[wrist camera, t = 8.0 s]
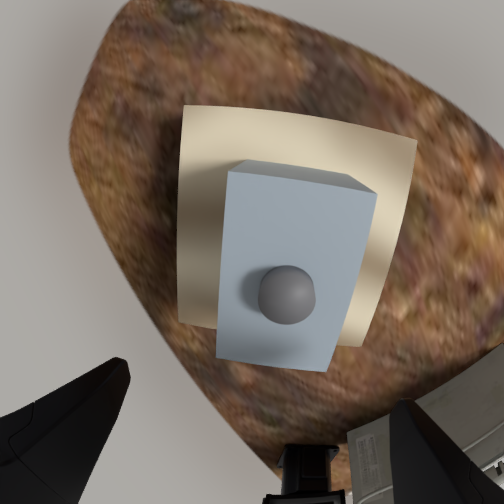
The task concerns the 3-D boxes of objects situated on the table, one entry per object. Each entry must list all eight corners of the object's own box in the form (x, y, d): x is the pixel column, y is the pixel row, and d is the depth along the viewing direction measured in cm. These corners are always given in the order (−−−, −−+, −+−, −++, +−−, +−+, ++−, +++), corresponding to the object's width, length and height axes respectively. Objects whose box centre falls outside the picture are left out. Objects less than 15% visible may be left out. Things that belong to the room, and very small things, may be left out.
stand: (353, 320, 20) (360, 346, 17) (191, 298, 21) (178, 322, 18) (397, 139, 15) (417, 140, 12) (200, 109, 16) (184, 105, 13)
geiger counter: (367, 545, 14) (590, 415, 6) (341, 544, 13) (607, 385, 5) (357, 444, 27) (535, 334, 19) (335, 425, 25) (535, 298, 17)
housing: (247, 159, 14) (223, 174, 8) (347, 174, 13) (385, 199, 8) (233, 299, 17) (211, 370, 12) (318, 311, 17) (327, 384, 11)
